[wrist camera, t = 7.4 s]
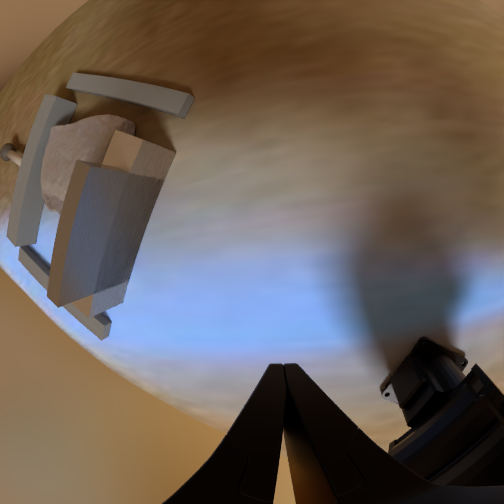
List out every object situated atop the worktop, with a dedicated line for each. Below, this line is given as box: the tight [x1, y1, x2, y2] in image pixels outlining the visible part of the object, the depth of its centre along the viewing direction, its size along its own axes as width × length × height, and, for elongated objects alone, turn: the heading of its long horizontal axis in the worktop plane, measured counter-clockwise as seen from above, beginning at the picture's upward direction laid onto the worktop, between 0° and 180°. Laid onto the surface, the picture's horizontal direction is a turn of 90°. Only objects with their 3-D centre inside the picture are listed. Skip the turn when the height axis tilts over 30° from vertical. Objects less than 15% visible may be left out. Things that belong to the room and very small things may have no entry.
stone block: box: [40, 114, 136, 214], centre depth 23 cm, size 12×5×10 cm
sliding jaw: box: [47, 130, 176, 318], centre depth 19 cm, size 3×15×9 cm, turn 155°
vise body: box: [0, 73, 195, 340], centre depth 24 cm, size 29×25×4 cm
